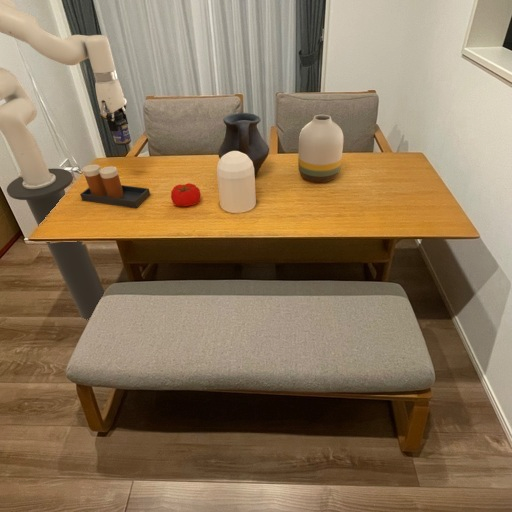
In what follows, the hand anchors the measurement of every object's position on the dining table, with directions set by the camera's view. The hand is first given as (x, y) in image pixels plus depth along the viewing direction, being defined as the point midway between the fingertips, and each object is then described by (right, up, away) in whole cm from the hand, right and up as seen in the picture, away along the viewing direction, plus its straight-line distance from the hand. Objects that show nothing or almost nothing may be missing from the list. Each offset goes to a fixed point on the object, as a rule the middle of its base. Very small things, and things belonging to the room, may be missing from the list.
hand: (119, 127), depth 145 cm
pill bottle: (0, -5, +4) cm, 6 cm away
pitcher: (+47, -14, +17) cm, 52 cm away
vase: (+77, -16, +13) cm, 80 cm away
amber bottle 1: (-10, -24, +7) cm, 27 cm away
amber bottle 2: (-3, -25, +5) cm, 26 cm away
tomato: (+25, -29, +1) cm, 38 cm away
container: (+45, -29, -1) cm, 53 cm away
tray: (-3, -26, +6) cm, 26 cm away
